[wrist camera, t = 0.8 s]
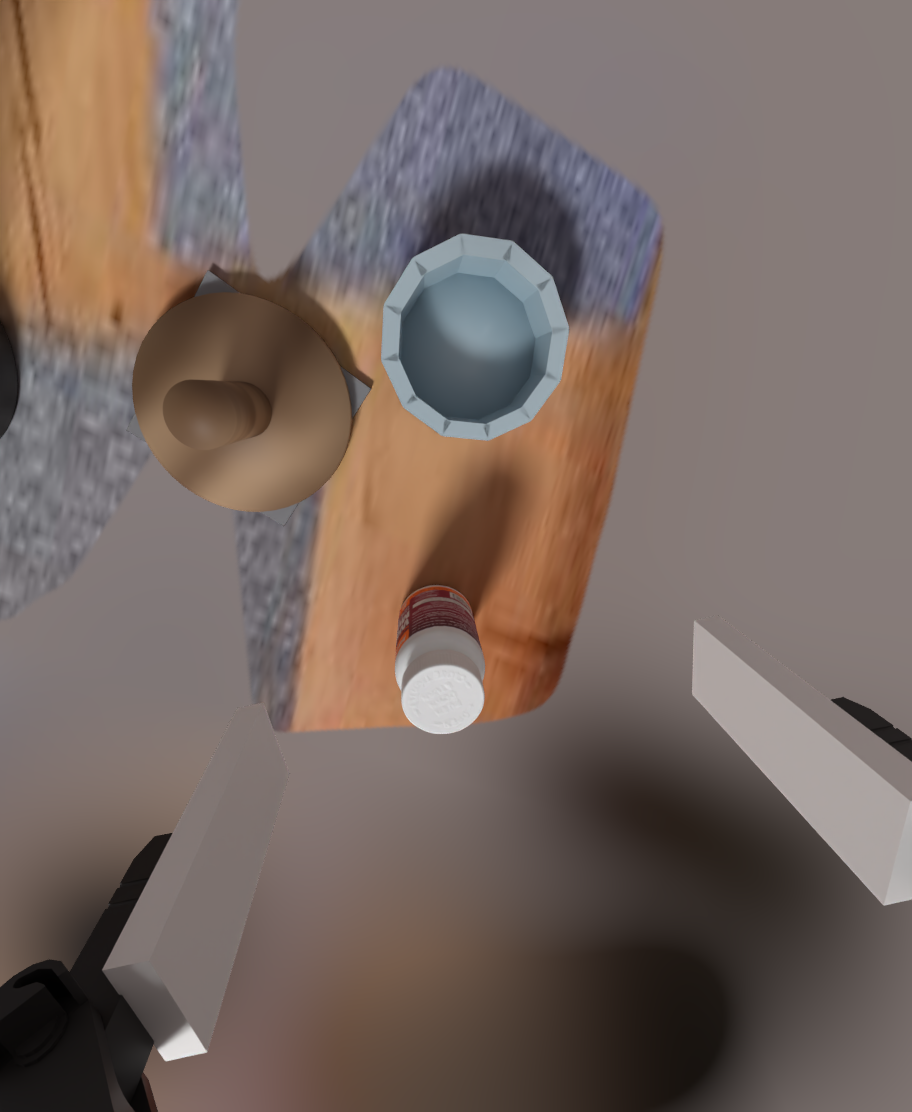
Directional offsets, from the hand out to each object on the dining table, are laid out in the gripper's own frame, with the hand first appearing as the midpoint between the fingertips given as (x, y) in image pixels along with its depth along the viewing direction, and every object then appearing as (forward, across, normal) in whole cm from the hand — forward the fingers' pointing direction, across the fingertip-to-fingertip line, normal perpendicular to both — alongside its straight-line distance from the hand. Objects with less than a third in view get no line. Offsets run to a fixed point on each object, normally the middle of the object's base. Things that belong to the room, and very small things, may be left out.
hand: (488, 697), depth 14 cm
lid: (+24, -12, +9) cm, 28 cm away
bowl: (+24, +4, +10) cm, 26 cm away
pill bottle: (+24, -2, -9) cm, 26 cm away
